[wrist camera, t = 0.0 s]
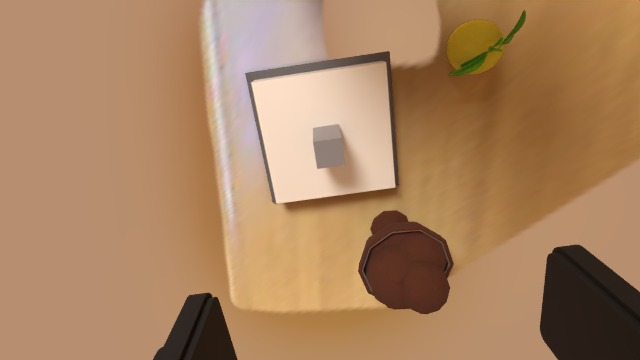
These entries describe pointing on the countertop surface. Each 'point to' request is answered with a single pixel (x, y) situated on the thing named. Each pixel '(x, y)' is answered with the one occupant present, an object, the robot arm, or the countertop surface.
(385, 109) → the lid
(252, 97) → the mat
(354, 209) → the countertop surface
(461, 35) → the lemon
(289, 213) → the countertop surface
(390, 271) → the ice cream bowl
